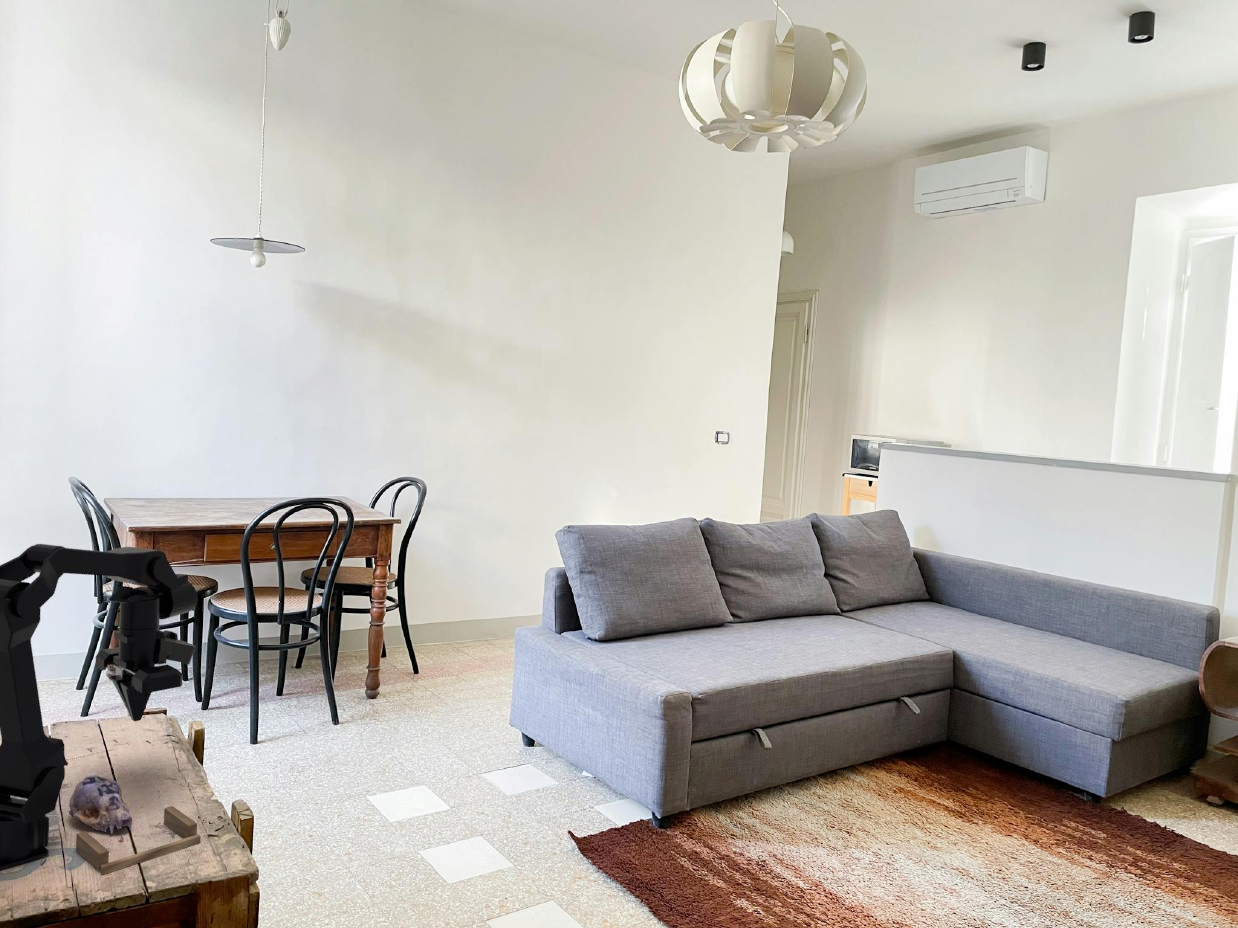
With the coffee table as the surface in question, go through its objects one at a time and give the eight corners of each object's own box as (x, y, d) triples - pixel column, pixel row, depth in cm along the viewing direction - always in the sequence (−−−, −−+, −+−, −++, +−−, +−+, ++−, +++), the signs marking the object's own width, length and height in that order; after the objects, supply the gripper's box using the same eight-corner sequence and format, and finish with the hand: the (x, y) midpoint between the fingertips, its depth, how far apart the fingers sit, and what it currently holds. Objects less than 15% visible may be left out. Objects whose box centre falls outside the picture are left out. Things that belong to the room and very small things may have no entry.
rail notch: (102, 874, 124) (102, 856, 124) (75, 850, 130) (76, 833, 130) (200, 842, 134) (201, 825, 134) (171, 821, 140) (172, 805, 140)
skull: (145, 830, 137) (146, 790, 137) (89, 846, 132) (90, 804, 131) (115, 803, 145) (116, 765, 145) (61, 817, 140) (62, 778, 139)
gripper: (216, 629, 148) (213, 724, 149) (164, 608, 160) (161, 695, 161) (145, 640, 139) (141, 740, 140) (95, 616, 151) (92, 709, 152)
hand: (136, 720), depth 149 cm, fingers closed
